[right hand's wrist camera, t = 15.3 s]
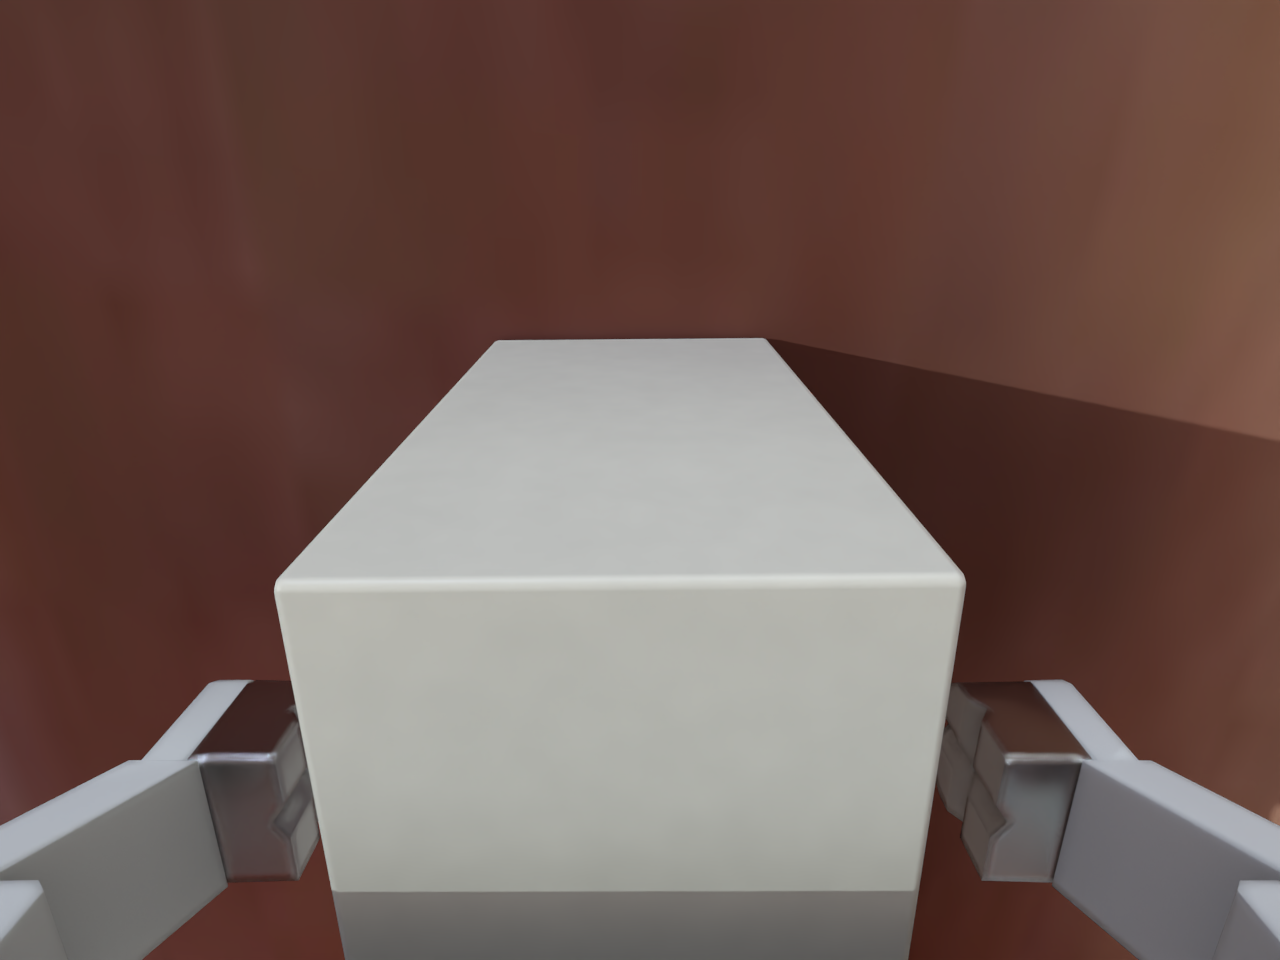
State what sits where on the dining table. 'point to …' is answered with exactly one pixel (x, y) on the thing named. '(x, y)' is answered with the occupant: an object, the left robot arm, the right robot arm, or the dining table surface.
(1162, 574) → the dining table surface
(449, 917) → the bar
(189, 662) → the dining table surface
